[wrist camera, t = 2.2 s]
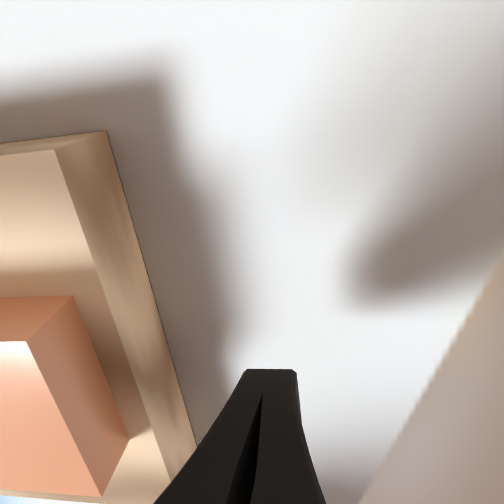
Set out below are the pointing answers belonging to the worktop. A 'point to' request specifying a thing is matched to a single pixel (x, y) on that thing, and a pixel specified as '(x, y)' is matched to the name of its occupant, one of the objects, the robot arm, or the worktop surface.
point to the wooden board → (95, 296)
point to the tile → (54, 401)
